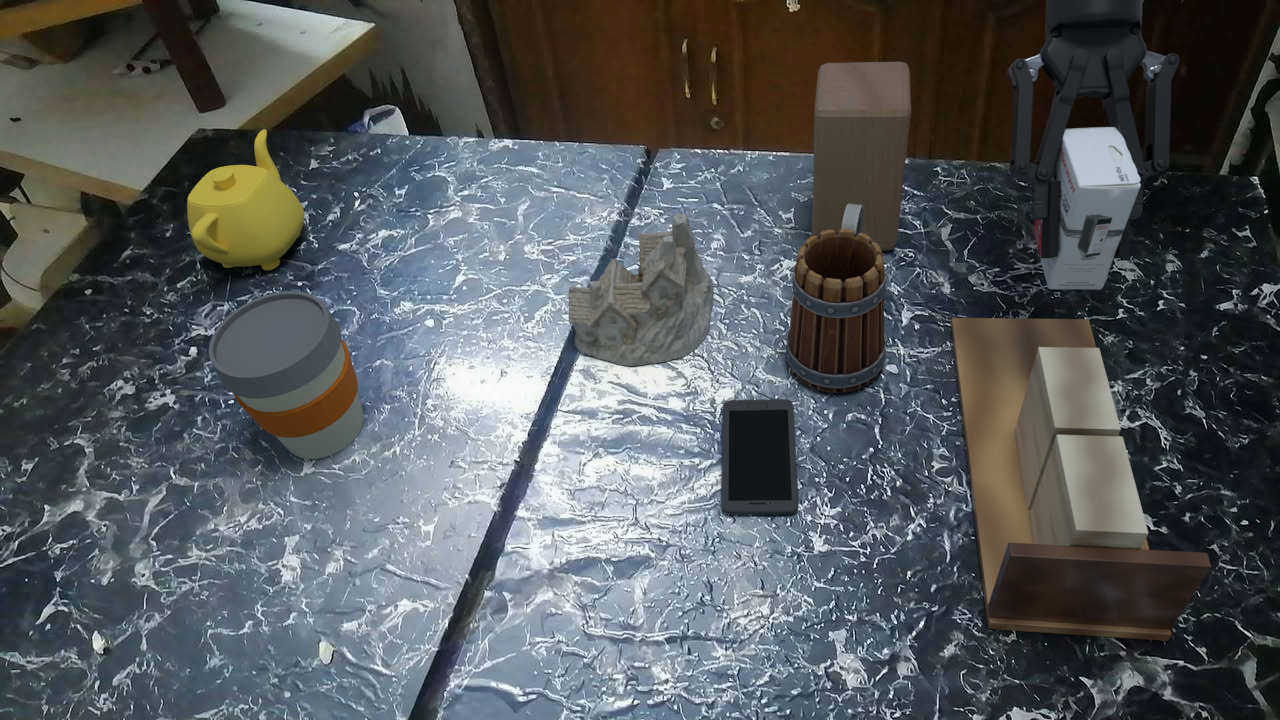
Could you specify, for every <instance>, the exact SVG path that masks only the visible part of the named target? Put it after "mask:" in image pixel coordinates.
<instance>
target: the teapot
mask: <svg viewBox="0 0 1280 720" xmlns="http://www.w3.org/2000/svg"><path fill="white" fill-rule="evenodd" d="M267 136H268V131H267V129H266V128H264V129H262V130H260V131H259V132H258V133H257V135H256V137H255V139H254V146H253V147H254V148H253V149H254V158H255V165H256V166H255V165H249V164H232V165H225V166H219V167H216V168H214V169H211V170H210V171H208V172H207V173H206V174H205V175H204V176H203V177H201V179H200V180H199V181H198V182H197V183H196V184H195V186H194V187H193V188H192V190H191V191H190V193H189V194H188V196H187V199H186V200H187V201H186V209H187V210H186V211H187V222H188V223H187V224H188V229H189V233H190V236H191V239H192V242H193V244H194V245H195V247H196V250H197V251H198V252H199V253H200V254H201V255H203V256H204V257H205V258H207V259H209V260H211V261H213V262H216V263H218V264H222V267H223V268H226V269H230V268H233V267H237V268H238V267H241V268H243V267H244V268H245V267H257V266H261V269H262V270H264V271H272V270H275V269H276V268H278V266H279V265H280V264H281V259H280V258H282V257H283V256H284V255H285V254H286V253H287V252H288V251H289V250H290V249H291V247H293V245H294V243H295V242H296V240H297V238H299V237H300V235H301V234H302V233H301V232H302V229H303V226H304V223H305V215H306V213H305V209H304V207H303V205H302V202H300V200H299V198H298V197H297V196H296V195H295V193H294V192H293V190H291V189H290V188H289V187H288V185H286V184H285V183H284V182H283V181H282V178H281V175H280V172H279V170H278V168H277V166H276V165H275V162H274V161H273V159H272V158H271V156H270V153H269V150H268V146H267Z"/></svg>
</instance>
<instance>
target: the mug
mask: <svg viewBox="0 0 1280 720" xmlns="http://www.w3.org/2000/svg"><path fill="white" fill-rule="evenodd" d="M862 226H863V205H857V204H847V206H846V209H845V213H844V217H843V222H842V228H841V230H839V232H838V233H837V234H836V233H835V231H834V230H826V231H822V232H821V233H820V234H819V236H818V237H817V236H816V235H815V236H812V235H811V236H809V237H808V238H807V239H805V242H804V243H803V244H802V246H801V247H800V248H799V250H798V251H797V253H796V260H795V261H796V262H795V265H794V266H793V274H792V284H791V289H792V301H791V309H790V311H791V312H790V320H789V321H790V322H789V330H788V331H787V336H786V346H785V356H786V362H787V364H788V368H789V370H790V371H791V373H792V374H793V375H794V376H796V379H797V380H799V381H800V382H801V383H802V384H803V385H806V386H808V387H810V388H812V389H816V390H817V391H821V392H824V393H825V392H826V393H847V392H853V391H856V390H860V389H861V388H862V387H863V388H864V387H866V386H867V385H869V384H871V383H872V382H873V381H874V380H876V379H877V378H878V376H879V373H880V372H881V371H882V370H883V367H884V364H885V361H886V357H887V356H886V355H887V337H886V335H885V294H886V290H887V285H886V284H887V283H886V282H887V270H886V268H885V259H884V254H883V250H881V249H880V247H879V245H878V244H877V243H875V242H873V241H872V239H871V238H870V237H869V236H868V235H866V234H864V233H862Z"/></svg>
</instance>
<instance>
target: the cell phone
mask: <svg viewBox="0 0 1280 720" xmlns="http://www.w3.org/2000/svg"><path fill="white" fill-rule="evenodd" d="M721 420H722V422H721V423H722V425H721V427H722V429H721V490H720V491H721V497H720V499H721V510H722V512H723V513H724V514H727V515H734V516H736V515H737V516H739V515H742V516H743V515H744V516H747V515H757V516H758V515H792V514H795V513H797V512H798V509H799V484H798V465H797V448H796V447H797V446H796V445H797V444H796V428H795V427H796V426H795V409H794V404H793V401H792V400H791V399H786V398H785V399H784V398H778V399H777V398H771V399H769V398H768V399H733V400H731V399H730V400H726V401H724V403H723V405H722V419H721Z"/></svg>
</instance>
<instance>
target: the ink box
mask: <svg viewBox="0 0 1280 720" xmlns="http://www.w3.org/2000/svg"><path fill="white" fill-rule="evenodd" d="M1140 180H1141V179H1140V176H1139V175H1138V172H1137V169H1136V167H1135V164H1134V163H1133V160H1132V158H1131V154H1130V152H1129V150H1128V148H1127V146H1126V143H1125V140H1124V138H1123V136H1122V134H1121V133H1120V132H1119V130H1118V129H1117V128H1115V127H1110V126H1102V127H1101V126H1099V127H1077V128H1075V127H1074V128H1065V132H1064V135H1063V138H1062V141H1061V145H1060V148H1059V151H1058V154H1057V158H1056V161H1055V164H1054V167H1053V171H1052V174H1051V176H1050V181H1060V203H1059V231H1058V256H1057V257H1053V258H1041V240H1042V220H1035V222H1034V225H1033V229H1032V233H1033V236H1034V241H1035V244H1036V247H1037V252H1038V256H1039V258H1040V259H1039V260H1040V262H1041V266H1042V270H1043V274H1044V277H1045V282H1046V285H1047V289H1049V290H1098V291H1099V290H1103V288H1104V286H1105V284H1106V280H1107V277H1108V275H1109V272H1110V270H1111V267H1112V264H1113V261H1114V259H1115V258H1114V255H1115V253H1116V250H1117V247H1118V245H1119V242H1120V239H1121V237H1122V234H1123V231H1124V228H1125V226H1126V223H1127V221H1128V218H1129V215H1130V213H1131V210H1132V207H1133V205H1134V202H1135V199H1136V197H1137V194H1138V191H1139V189H1140V187H1141V184H1140Z"/></svg>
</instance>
